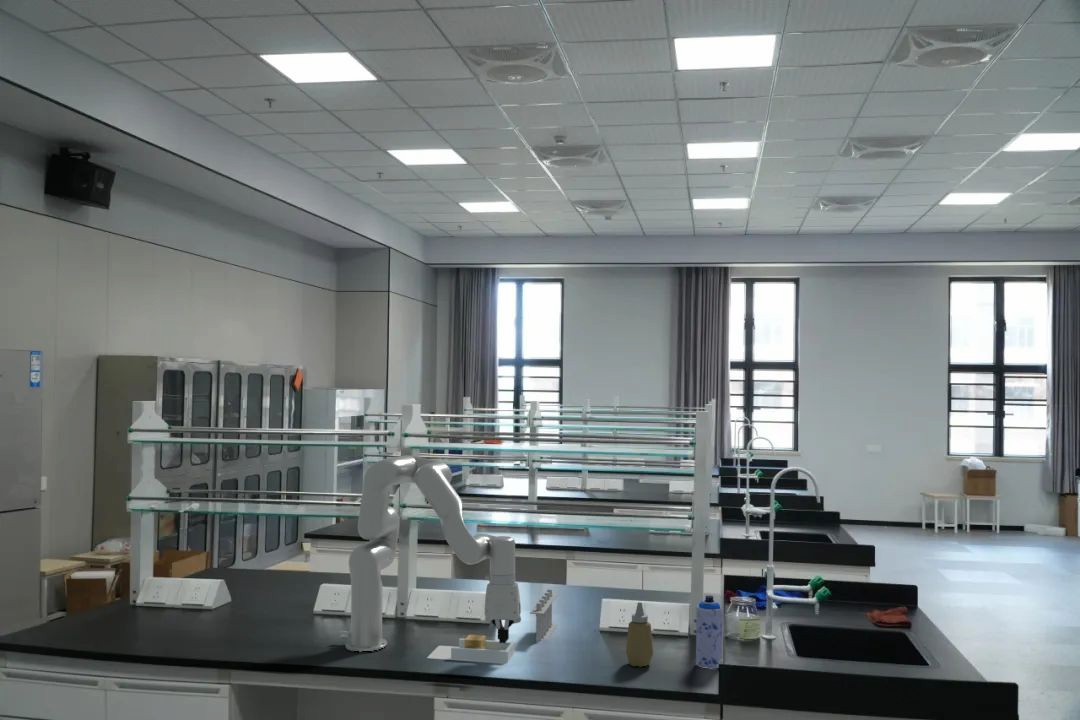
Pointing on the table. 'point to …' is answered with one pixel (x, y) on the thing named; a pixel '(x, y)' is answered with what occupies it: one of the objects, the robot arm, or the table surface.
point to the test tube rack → (544, 616)
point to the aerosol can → (708, 633)
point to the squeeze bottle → (639, 639)
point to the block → (475, 641)
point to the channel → (476, 652)
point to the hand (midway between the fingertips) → (503, 641)
